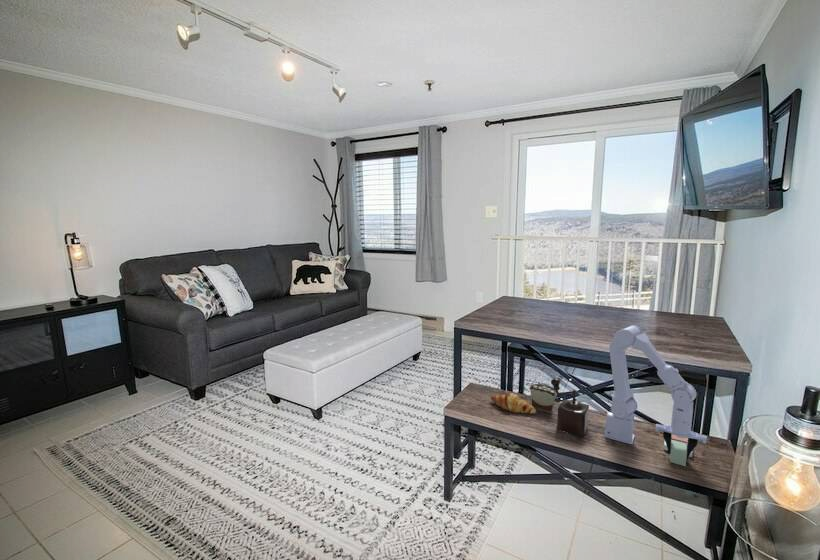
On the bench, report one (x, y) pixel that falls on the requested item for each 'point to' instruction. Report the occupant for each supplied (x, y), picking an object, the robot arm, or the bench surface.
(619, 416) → the robot arm
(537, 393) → the food container
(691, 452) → the channel
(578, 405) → the manual coffee grinder
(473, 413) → the bench surface
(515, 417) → the bench surface
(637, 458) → the bench surface
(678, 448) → the block
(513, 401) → the croissant
